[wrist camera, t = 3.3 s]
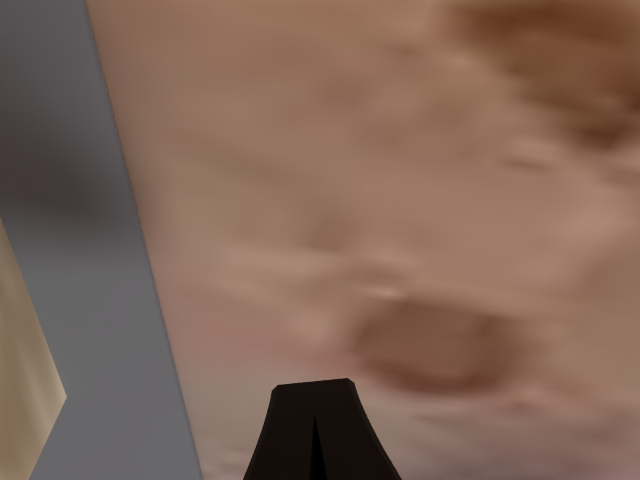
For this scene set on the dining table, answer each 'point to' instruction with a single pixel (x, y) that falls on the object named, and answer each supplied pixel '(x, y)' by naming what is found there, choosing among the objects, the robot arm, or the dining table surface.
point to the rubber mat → (84, 255)
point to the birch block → (23, 374)
